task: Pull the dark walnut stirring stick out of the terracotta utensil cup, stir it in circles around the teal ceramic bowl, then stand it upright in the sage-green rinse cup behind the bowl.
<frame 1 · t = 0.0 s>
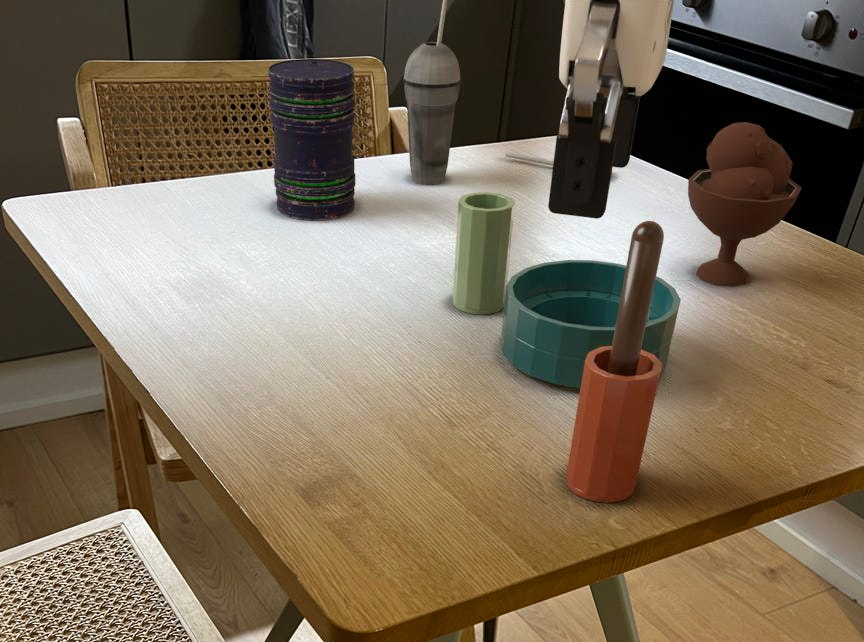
hand: (590, 187, 59), 22 cm above the table, tool pointing down, fingers open, 9 cm apart
mixing bowl: (582, 355, 90), on the table
ice cream bowl: (721, 277, 104), on the table
utensil cup: (600, 483, 74), on the table
beverage cup: (428, 180, 127), on the table
stirring stick: (601, 478, 74), resting on utensil cup
lollipop: (555, 169, 131), on the table
storage jar: (315, 208, 119), on the table
rinse cup: (478, 303, 98), on the table
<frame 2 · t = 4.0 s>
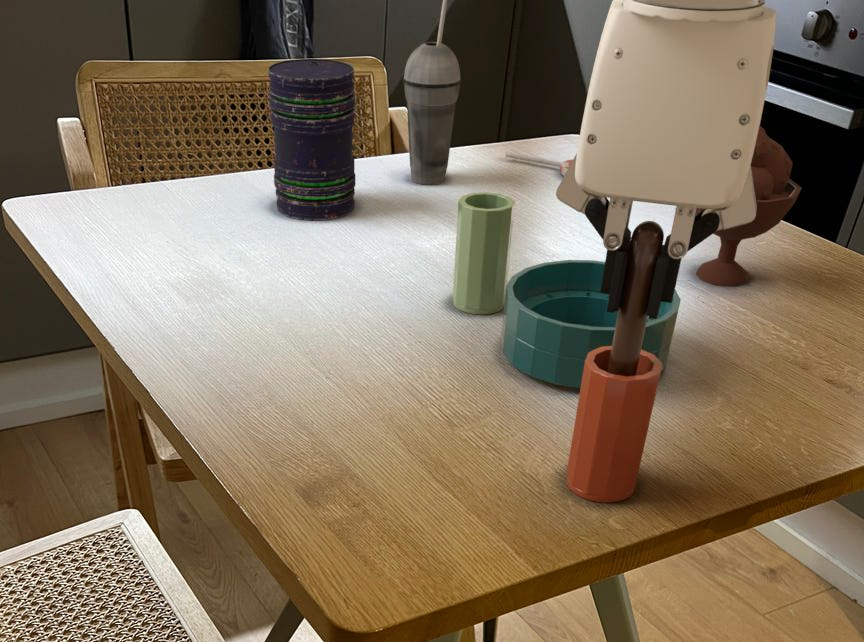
hand: (634, 305, 65), 14 cm above the table, tool pointing down, fingers closed on stirring stick, 2 cm apart
stirring stick: (601, 478, 74), resting on utensil cup, touching gripper
everything else where it was.
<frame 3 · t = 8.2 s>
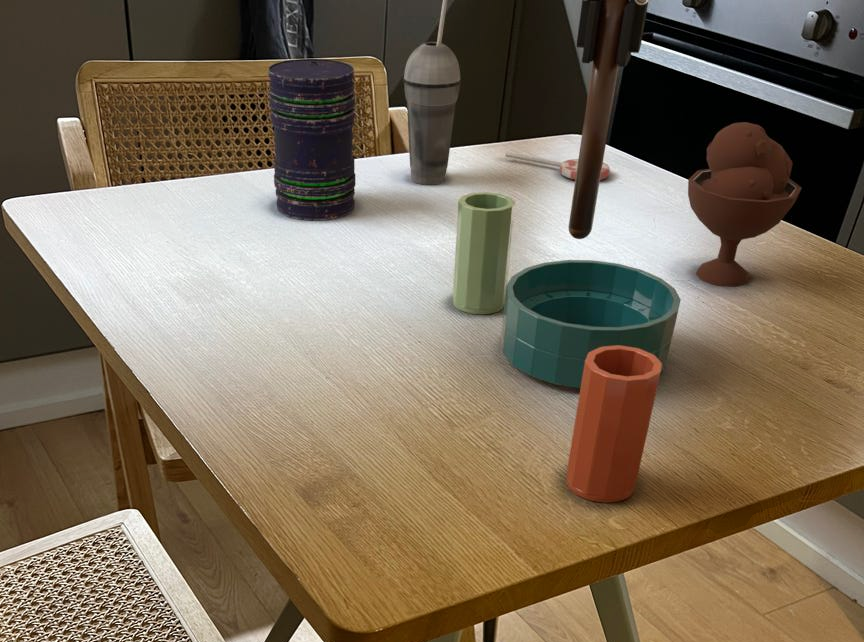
hand: (606, 59, 74), 24 cm above the table, tool pointing down, fingers closed on stirring stick
stirring stick: (578, 238, 83), point 10 cm above the table, touching gripper
everything else where it was.
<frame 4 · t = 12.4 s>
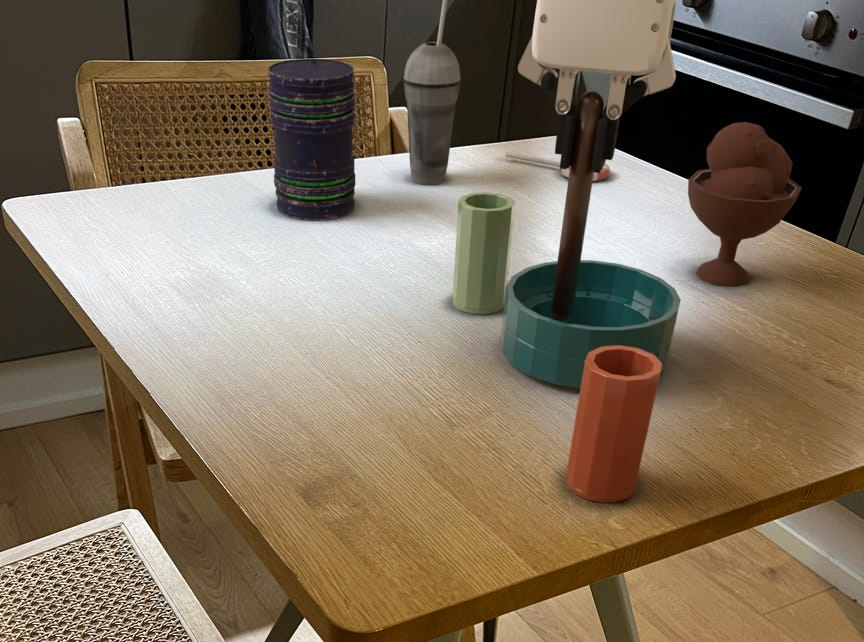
hand: (582, 164, 80), 16 cm above the table, tool pointing down, fingers closed on stirring stick, 2 cm apart
stirring stick: (560, 321, 89), point 3 cm above the table, touching gripper
everything else where it was.
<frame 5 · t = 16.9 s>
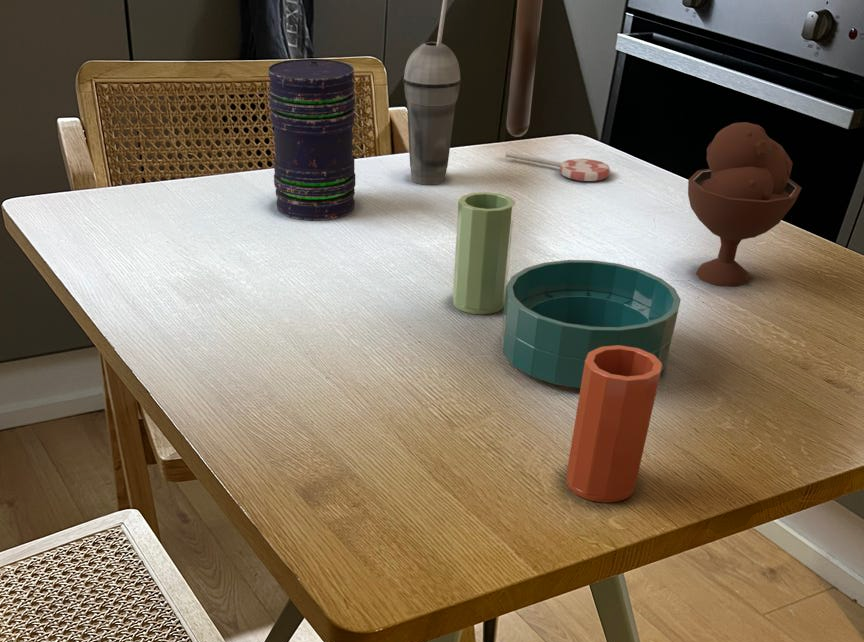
stirring stick: (516, 136, 85), point 16 cm above the table, touching gripper
everything else where it was.
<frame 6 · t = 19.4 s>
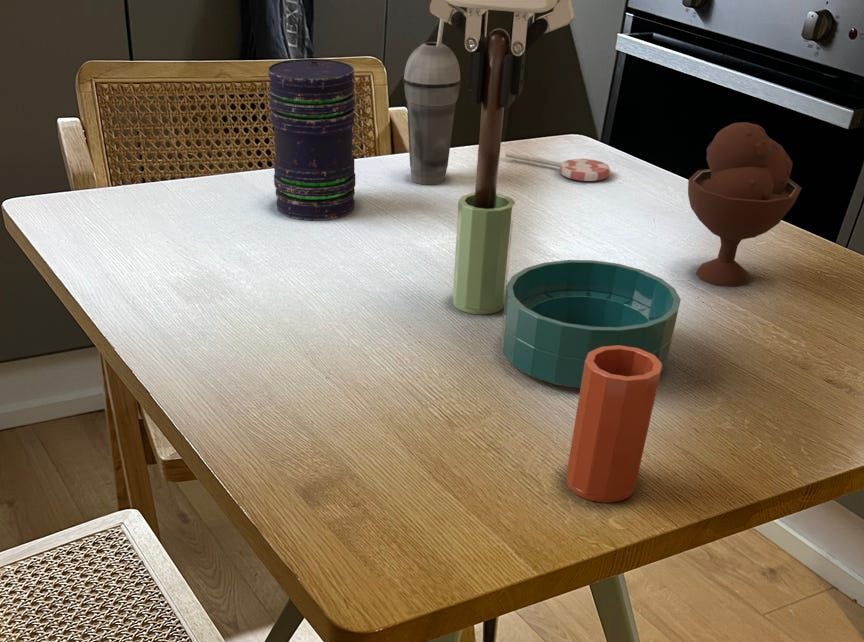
hand: (493, 100, 86), 19 cm above the table, tool pointing down, fingers closed on stirring stick
stirring stick: (480, 253, 95), point 5 cm above the table, touching gripper
everything else where it was.
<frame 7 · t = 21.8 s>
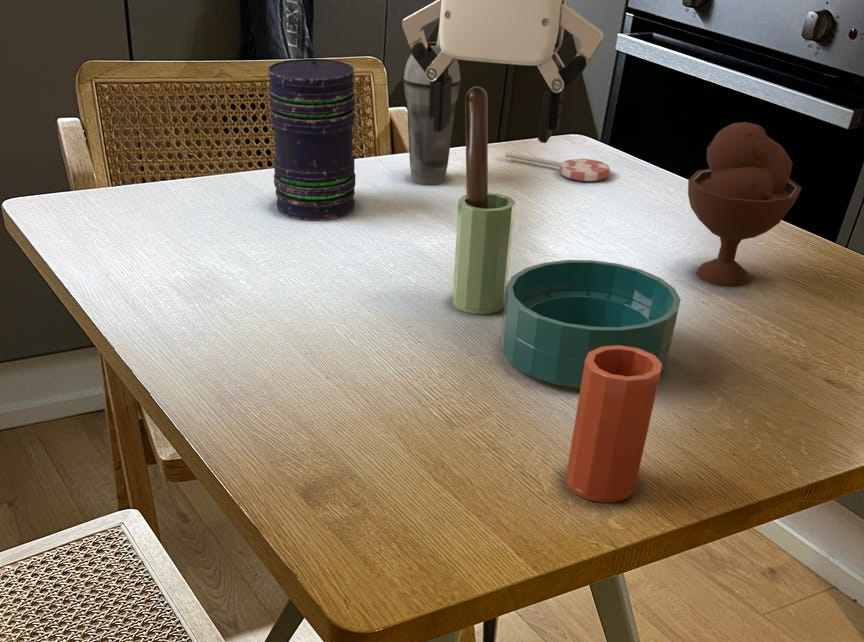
hand: (492, 133, 88), 16 cm above the table, tool pointing down, fingers open, 9 cm apart
stirring stick: (477, 298, 98), point 1 cm above the table, tilted 5°, touching rinse cup
everything else where it was.
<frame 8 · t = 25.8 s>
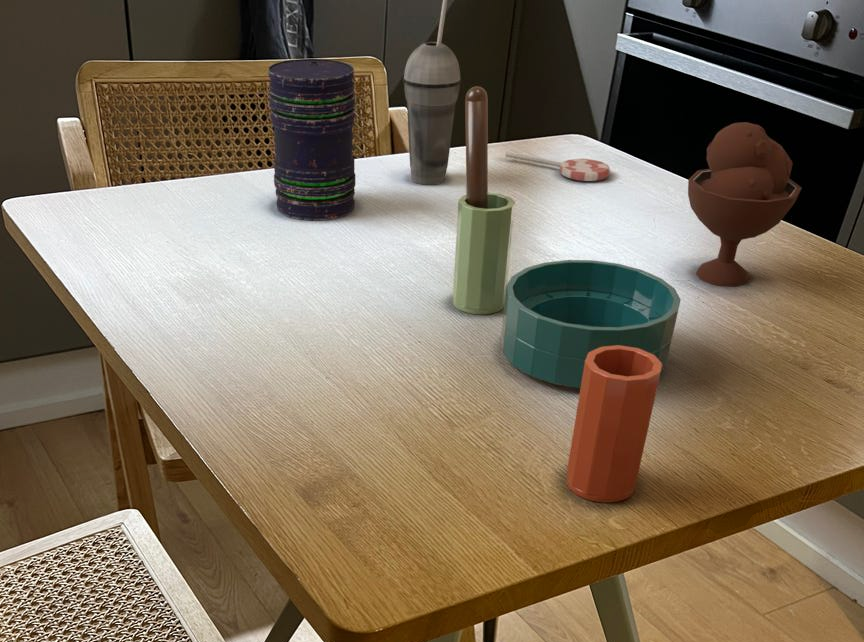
nothing on the table moved.
at the end: stirring stick 0.1 cm off-centre in the rinse cup, point 0.5 cm above the rinse cup's base; stirring stick tilted 5°; stirring stick moved 33.7 cm from its start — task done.
